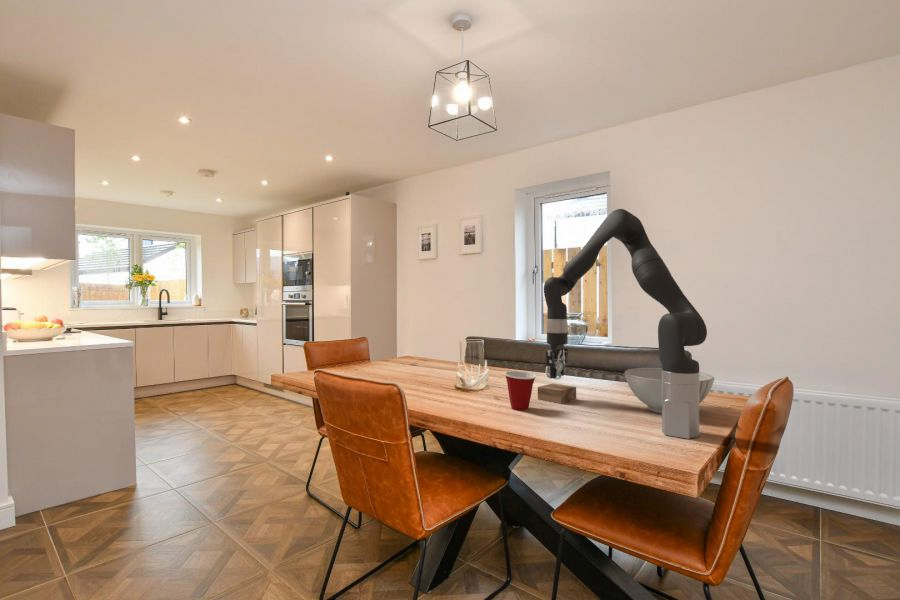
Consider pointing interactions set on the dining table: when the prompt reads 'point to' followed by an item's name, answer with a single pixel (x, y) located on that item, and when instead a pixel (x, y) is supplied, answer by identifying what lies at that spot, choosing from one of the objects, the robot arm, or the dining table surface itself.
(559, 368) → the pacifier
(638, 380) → the decorative bowl
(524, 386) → the plastic cup
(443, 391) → the dining table surface
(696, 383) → the robot arm
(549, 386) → the walnut block
